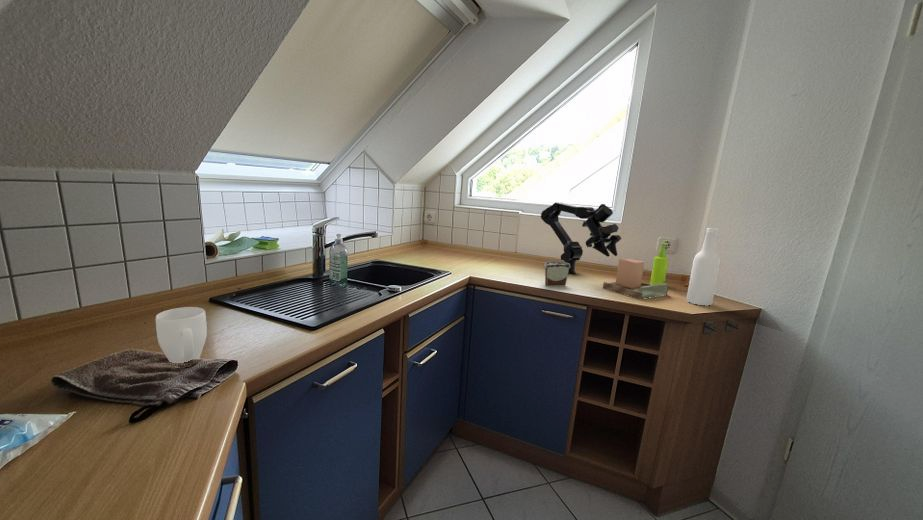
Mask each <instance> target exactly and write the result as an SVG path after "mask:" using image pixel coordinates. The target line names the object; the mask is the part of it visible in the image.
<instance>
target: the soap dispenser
mask: <svg viewBox="0 0 923 520" xmlns="http://www.w3.org/2000/svg"><path fill="white" fill-rule="evenodd" d="M667 245H669V243H668V242H661V243H660V249H658V251H657V256H654V258H653V263H652V269H651V276H650V282H649V284H651V285H656V284H663V283H665V282H666V276H667V269H668V264H669V258H668V257H667V250H666V246H667Z"/></svg>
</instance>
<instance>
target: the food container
mask: <svg viewBox="0 0 923 520" xmlns="http://www.w3.org/2000/svg"><path fill="white" fill-rule="evenodd" d="M543 268H544V269H545V271H544V272H545V274H544V276H545V277H544V285H545V287H565V285H567V280H568V275H569V273H568V271H569V268H570V263H566V262H564V261H559V260H547V261H545V263H544V265H543Z"/></svg>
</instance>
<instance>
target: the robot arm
mask: <svg viewBox="0 0 923 520" xmlns="http://www.w3.org/2000/svg"><path fill="white" fill-rule="evenodd" d="M561 212H565V213H568V214H572V215H574V216H575V217H577V218H579V219H583V220H584V219H585V220H584V221H582V225H581V226H582V227H583V228H586V227H587V229H588V230H589V232H590V233H589V236H590V237H589V238H588V239H587V240H586V241H585V246H586V247H587V248H592V249H594V250H596V251H597V252H600V253H601V254H602V255H604V256H606V257H610V253H611V254H612V255H613V256H615V257H617V256H618V250H617V244H618V242H620V241H621V240H622V237H621V236H620V235H619V234H613V233H618V231H619V226H618V225H617V224H616V223H613V224H608V225H606V226H603V225H602V224H601V223H605V222H606V221H607V220H608V219H609V218H610V217H611V216H612V215H613V213H614V212H613V210H612V208H610V206H607V205H606V203H601V204H600V205H598V207H597V208H596V209H595V208H594V207H593V206H592V207H591V206H576V205H572V204H568V203H563V202H554V203H552V205H550V206H549V207H546V208H545V209H544V210H542V212H541V213H540V219H541V220H542V221H543V223H544V224H546V225H548V226H550V228H551V229H552V231H553V232H554V234H555V235H556V237H557V238H558V239H559V241H560V242H561V244H562V246H563V253H562V254H561V255H560V260H561V261H563V262H566V263H570V268H569V271H568V274H575V275H576V273H577V272H576V262H578V261H580V260H581V258H582V256H583V251H584V250H583V246H581V245H580V242H579V241H573V240H572V238H571V237H570V236H569V234H568V232H567V231H566V230H565V229H564V227H563V226H562V224H561V223H560V222H559V216H560V215H561Z"/></svg>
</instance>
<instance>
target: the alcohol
mask: <svg viewBox="0 0 923 520" xmlns="http://www.w3.org/2000/svg"><path fill="white" fill-rule="evenodd" d="M719 230H720V229H719V228H714V227H707V228H706V231H705V236H704V240H703V243H702V248H700V251H699V252H698V253H696V254H695V256H694V258H693V262H692V265H691V272H690V277H689V282H688V287H687V288H688V289H687V293H686V301H687V303H689V302H690V303H689V304H691V303H694V304H700V305H710V306H712V304H713V302H714V298H715V297H714V296H715V292H716V288H717V287H716V286H717V281H718V276H719V270H720V265H721V258H720V256H719V254H718V253H717V244H718V236H719ZM694 304H693V305H694Z"/></svg>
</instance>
